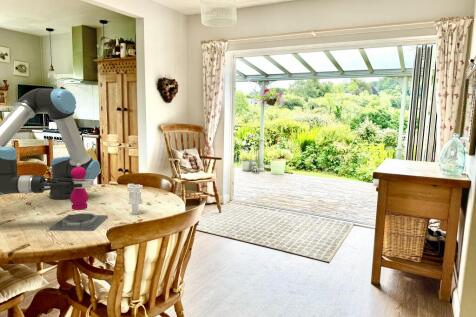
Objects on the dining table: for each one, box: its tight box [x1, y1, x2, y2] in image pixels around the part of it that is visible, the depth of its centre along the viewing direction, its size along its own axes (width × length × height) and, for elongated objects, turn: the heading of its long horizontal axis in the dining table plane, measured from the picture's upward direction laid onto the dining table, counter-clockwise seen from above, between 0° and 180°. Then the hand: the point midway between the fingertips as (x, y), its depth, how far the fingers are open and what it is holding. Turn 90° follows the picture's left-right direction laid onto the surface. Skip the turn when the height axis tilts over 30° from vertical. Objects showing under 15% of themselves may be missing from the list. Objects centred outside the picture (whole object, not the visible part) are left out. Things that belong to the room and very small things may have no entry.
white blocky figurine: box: [127, 183, 143, 215], centre depth 161 cm, size 7×7×15 cm
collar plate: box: [48, 212, 109, 232], centre depth 145 cm, size 18×18×2 cm
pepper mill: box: [69, 163, 89, 211], centre depth 143 cm, size 7×7×20 cm
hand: (91, 183), depth 144 cm, fingers closed on pepper mill, 5 cm apart
